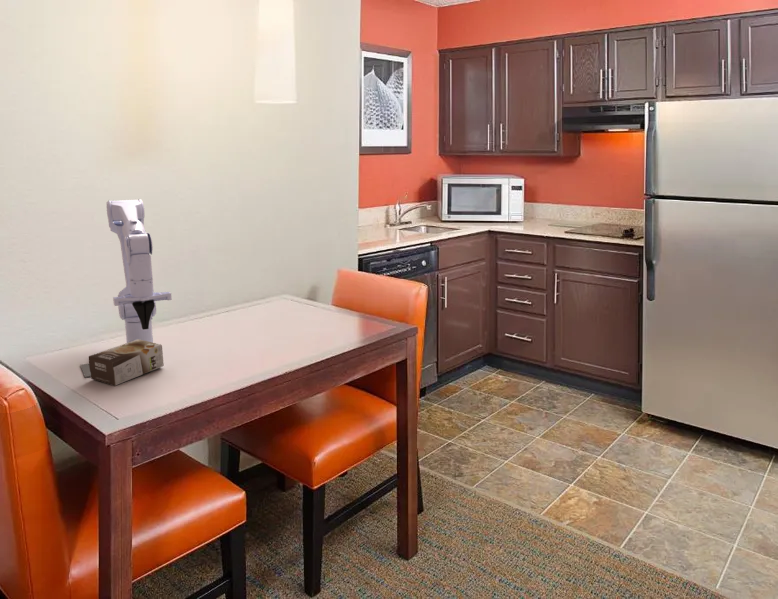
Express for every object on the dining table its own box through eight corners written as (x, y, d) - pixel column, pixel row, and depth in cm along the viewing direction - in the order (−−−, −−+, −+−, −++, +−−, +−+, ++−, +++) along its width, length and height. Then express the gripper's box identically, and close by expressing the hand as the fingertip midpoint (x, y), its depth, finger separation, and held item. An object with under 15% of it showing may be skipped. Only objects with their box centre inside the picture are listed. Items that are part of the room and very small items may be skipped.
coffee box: (162, 343, 181) (113, 362, 167) (164, 366, 183) (115, 386, 169) (137, 338, 185) (87, 356, 172) (139, 360, 187) (90, 379, 173)
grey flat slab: (80, 366, 184) (80, 364, 184) (134, 358, 191) (134, 356, 191) (85, 378, 175) (84, 376, 175) (142, 369, 182) (142, 367, 182)
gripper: (114, 284, 175) (118, 335, 178) (172, 279, 181) (175, 328, 184) (110, 279, 181) (115, 329, 184) (167, 274, 187) (170, 322, 190)
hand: (145, 328), depth 184 cm, fingers closed
